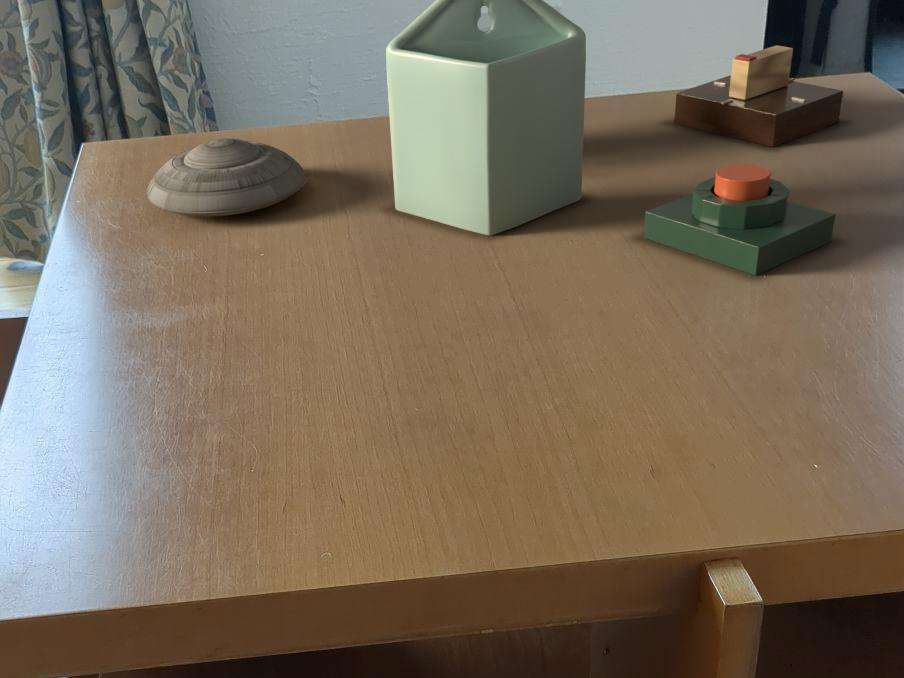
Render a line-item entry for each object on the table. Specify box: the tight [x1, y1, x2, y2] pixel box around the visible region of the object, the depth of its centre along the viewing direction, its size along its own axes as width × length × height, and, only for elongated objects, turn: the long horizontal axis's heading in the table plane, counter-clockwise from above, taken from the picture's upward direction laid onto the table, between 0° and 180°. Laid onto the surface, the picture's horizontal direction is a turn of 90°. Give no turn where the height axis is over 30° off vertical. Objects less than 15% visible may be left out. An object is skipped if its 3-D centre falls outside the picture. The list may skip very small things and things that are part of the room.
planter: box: [385, 0, 587, 237], centre depth 93 cm, size 16×8×20 cm, turn 87°
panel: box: [673, 74, 844, 148], centre depth 113 cm, size 12×11×3 cm
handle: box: [729, 44, 794, 100], centre depth 111 cm, size 6×2×4 cm, turn 126°
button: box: [714, 163, 772, 201], centre depth 88 cm, size 4×4×2 cm
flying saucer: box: [145, 137, 308, 217], centre depth 106 cm, size 15×15×6 cm
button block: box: [643, 176, 836, 276], centre depth 90 cm, size 11×9×4 cm
